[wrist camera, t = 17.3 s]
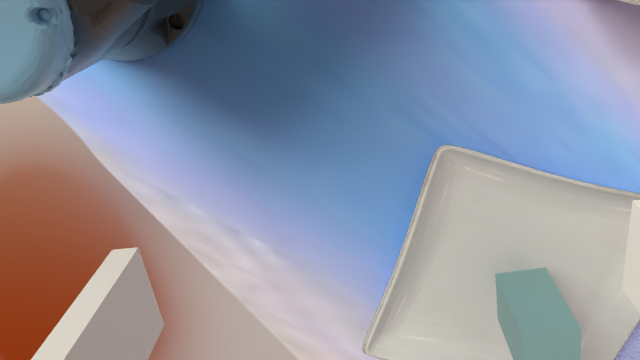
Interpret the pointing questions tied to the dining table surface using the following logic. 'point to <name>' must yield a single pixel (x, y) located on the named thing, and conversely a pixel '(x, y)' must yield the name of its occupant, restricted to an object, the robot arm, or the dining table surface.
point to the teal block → (536, 317)
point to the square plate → (502, 259)
